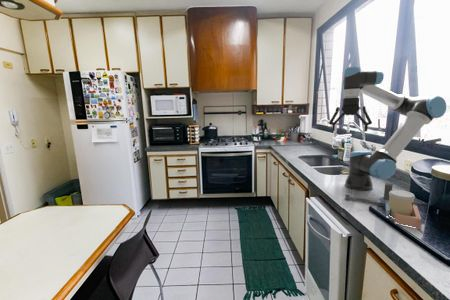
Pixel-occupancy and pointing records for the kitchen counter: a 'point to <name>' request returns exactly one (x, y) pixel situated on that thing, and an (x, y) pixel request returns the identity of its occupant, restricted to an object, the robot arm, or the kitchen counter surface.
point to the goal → (410, 218)
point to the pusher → (386, 197)
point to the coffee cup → (400, 202)
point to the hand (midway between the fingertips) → (348, 137)
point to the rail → (363, 200)
